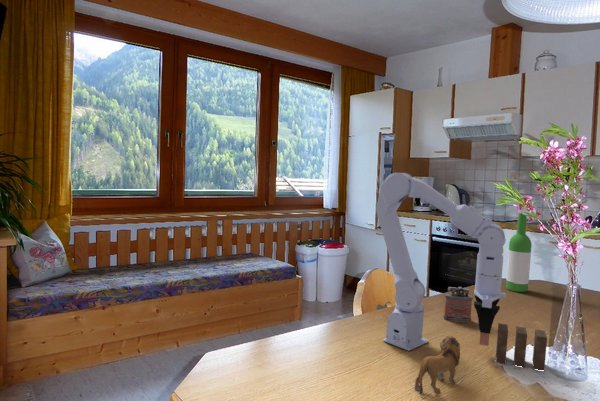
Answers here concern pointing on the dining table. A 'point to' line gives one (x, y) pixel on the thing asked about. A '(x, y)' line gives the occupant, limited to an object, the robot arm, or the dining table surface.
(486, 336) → the brick red domino
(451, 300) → the lighter
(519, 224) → the wine bottle
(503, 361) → the walnut domino
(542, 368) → the walnut domino
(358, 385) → the dining table surface
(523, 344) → the walnut domino
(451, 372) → the lion figurine
